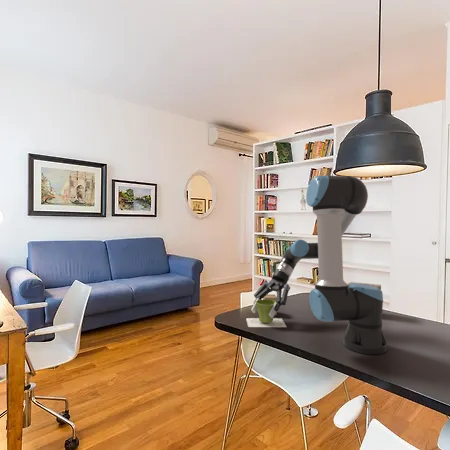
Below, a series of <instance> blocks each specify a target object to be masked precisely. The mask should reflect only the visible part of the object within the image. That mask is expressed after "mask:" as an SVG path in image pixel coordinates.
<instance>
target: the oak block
mask: <svg viewBox="0 0 450 450" xmlns="http://www.w3.org/2000/svg"><path fill="white" fill-rule="evenodd" d="M264 299H267V300H273V301H277V294H270V293H268V294H267V295H266V296H265V297H263V298H262V300H264ZM276 303H277V302H276ZM277 313H278V311H276V313H275V315H274V316H277Z"/></svg>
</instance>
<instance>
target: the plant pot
mask: <svg viewBox="0 0 450 450" xmlns="http://www.w3.org/2000/svg"><path fill="white" fill-rule="evenodd" d="M275 302H276V301H273V300H267V299H264V300H263V299H261V300H257V301H256V304H257V307H258V308H257V313H258V318H259V321H261V322H267V323H270V322H272V321H273V318H274V317H273V318H271V317H270V316H269V313H270V311H271V309H272V307H273V305H274V303H275Z"/></svg>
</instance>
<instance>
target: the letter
mask: <svg viewBox="0 0 450 450" xmlns="http://www.w3.org/2000/svg"><path fill="white" fill-rule="evenodd" d="M246 323H247V327H248V328H287V325H286V323H285V321H284V320H283V318H282V317H279V318H277V317H273V321H272V322H270V323H267V322H261V321H259V317H256V318H255V317H248V318H246Z"/></svg>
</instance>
